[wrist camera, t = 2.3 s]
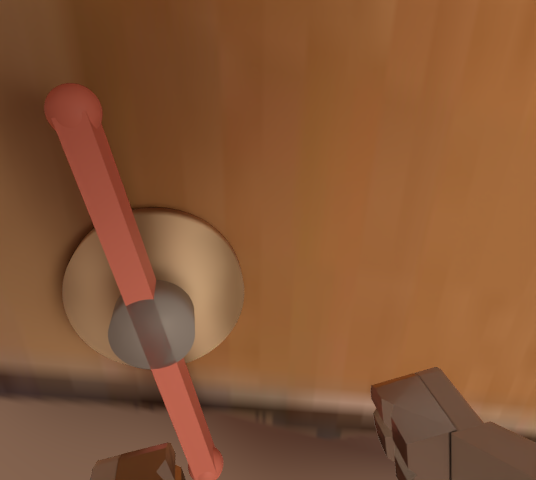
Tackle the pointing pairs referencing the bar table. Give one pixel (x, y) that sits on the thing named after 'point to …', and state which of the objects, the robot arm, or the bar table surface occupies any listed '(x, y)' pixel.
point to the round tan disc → (165, 268)
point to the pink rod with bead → (134, 276)
